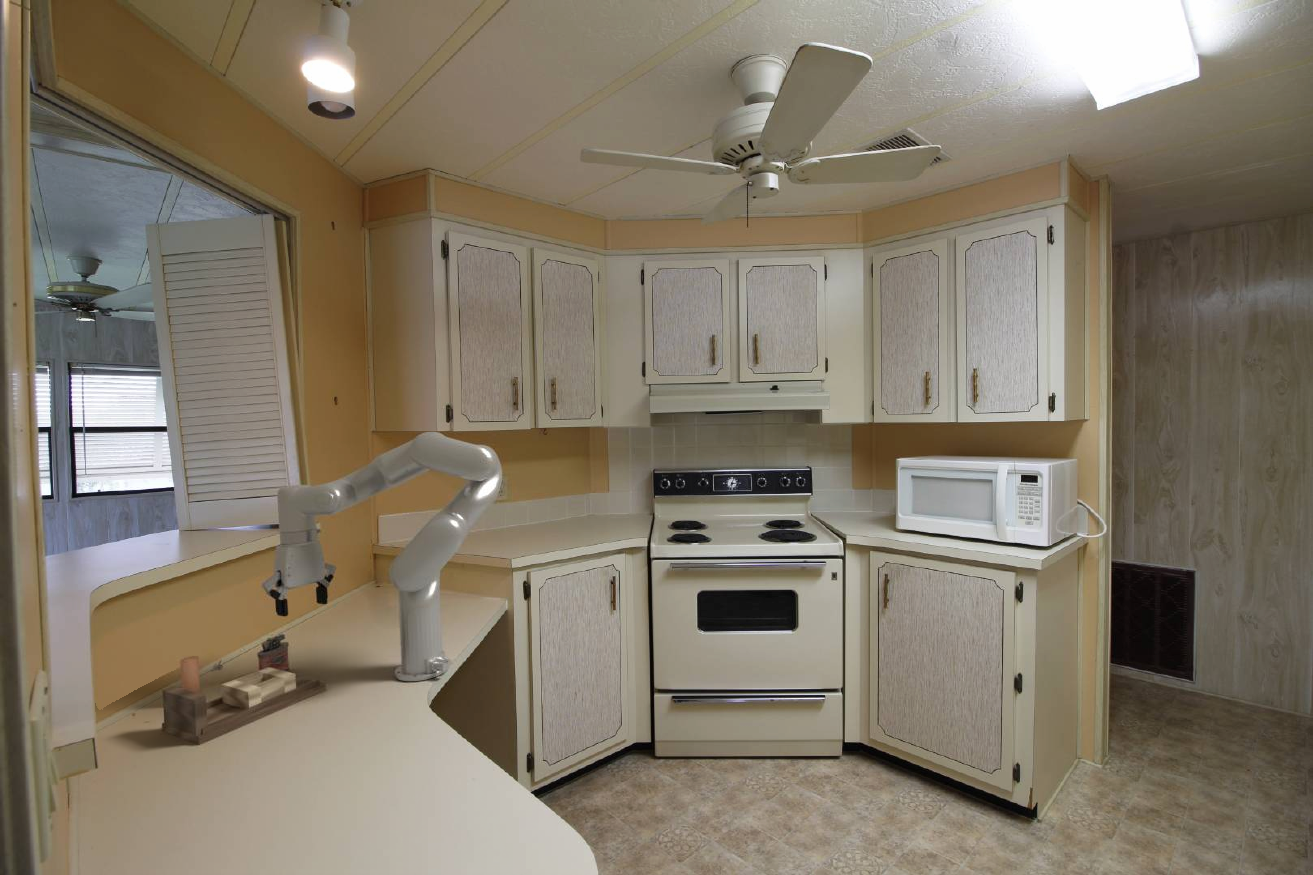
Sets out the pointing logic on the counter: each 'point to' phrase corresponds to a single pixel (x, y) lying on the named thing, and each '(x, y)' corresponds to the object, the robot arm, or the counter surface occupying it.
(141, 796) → the counter surface
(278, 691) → the block
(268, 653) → the lighter
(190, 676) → the dowel
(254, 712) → the rail board
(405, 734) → the counter surface
